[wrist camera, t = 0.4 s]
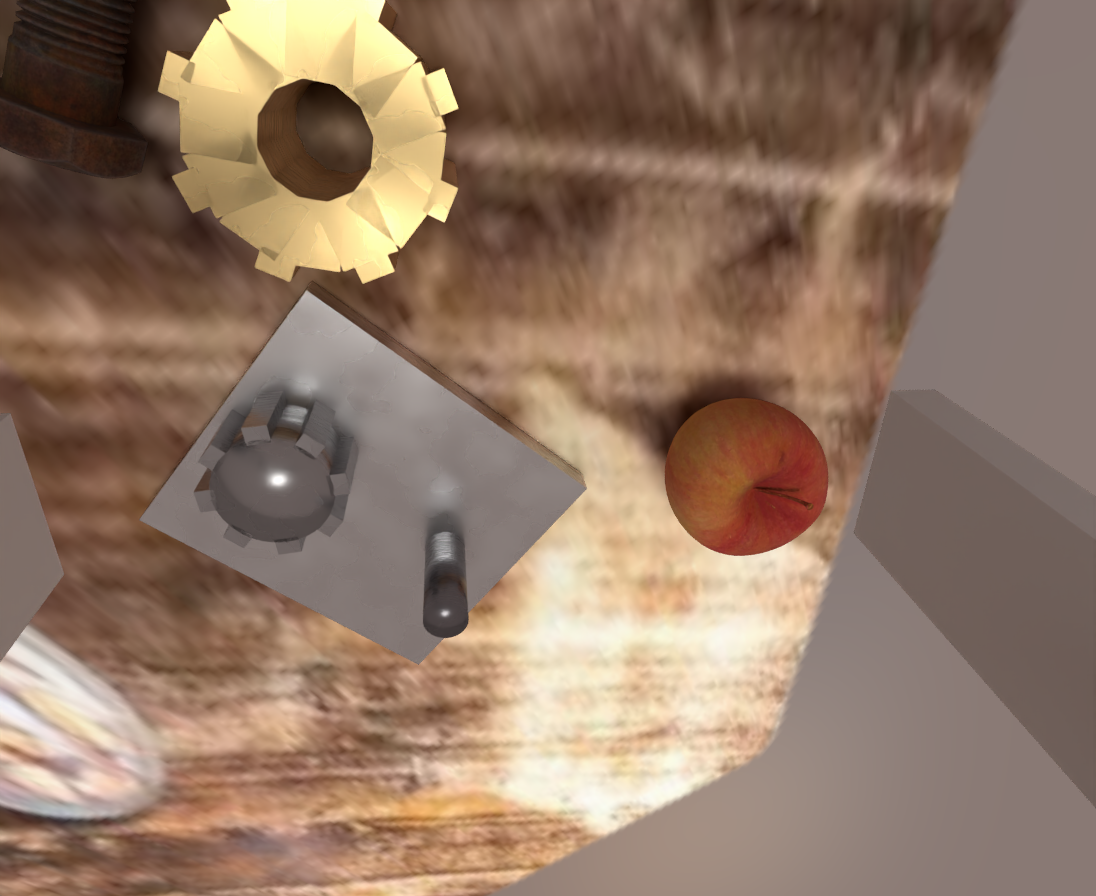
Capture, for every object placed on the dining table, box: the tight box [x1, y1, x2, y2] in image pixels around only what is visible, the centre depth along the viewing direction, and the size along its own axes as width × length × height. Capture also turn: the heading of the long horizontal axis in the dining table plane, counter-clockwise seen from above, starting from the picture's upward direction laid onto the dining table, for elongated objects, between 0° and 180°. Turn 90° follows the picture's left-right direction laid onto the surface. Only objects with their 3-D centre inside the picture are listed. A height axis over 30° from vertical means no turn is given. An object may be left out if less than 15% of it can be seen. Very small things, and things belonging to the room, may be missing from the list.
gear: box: [158, 0, 459, 284], centre depth 26 cm, size 9×9×7 cm
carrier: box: [140, 281, 587, 665], centre depth 34 cm, size 16×14×7 cm
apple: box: [665, 398, 828, 556], centre depth 35 cm, size 7×7×8 cm
